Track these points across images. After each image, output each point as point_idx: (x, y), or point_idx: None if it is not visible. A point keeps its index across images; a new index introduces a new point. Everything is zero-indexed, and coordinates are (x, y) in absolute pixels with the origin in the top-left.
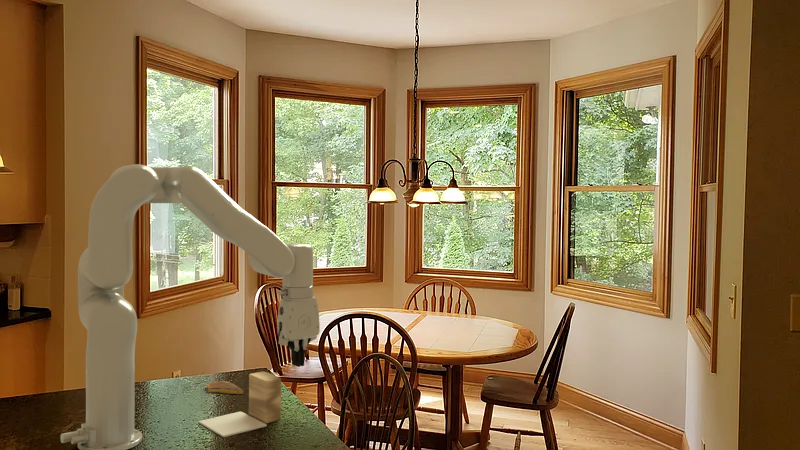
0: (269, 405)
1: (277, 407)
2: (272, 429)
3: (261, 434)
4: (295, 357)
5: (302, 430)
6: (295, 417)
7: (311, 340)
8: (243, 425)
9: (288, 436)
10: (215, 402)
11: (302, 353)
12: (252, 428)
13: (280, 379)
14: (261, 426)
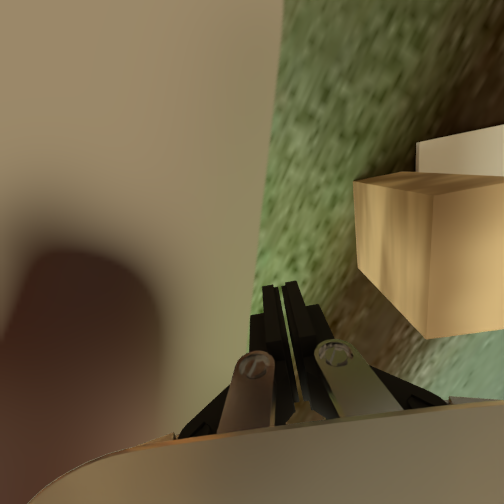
0: (422, 175)
1: (381, 181)
2: (417, 107)
3: (468, 78)
4: (322, 320)
5: (346, 46)
6: (308, 177)
7: (167, 439)
8: (476, 168)
9: (413, 9)
10: (418, 367)
11: (280, 326)
12: (470, 132)
13: (434, 193)
14: (436, 138)
